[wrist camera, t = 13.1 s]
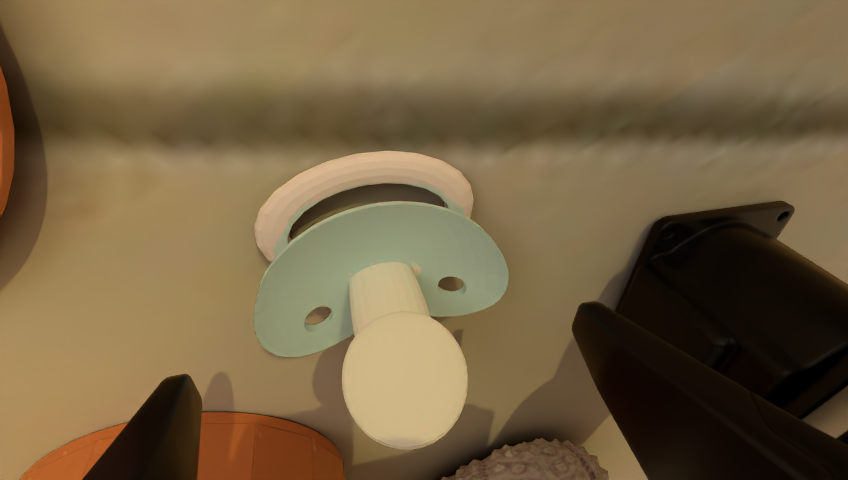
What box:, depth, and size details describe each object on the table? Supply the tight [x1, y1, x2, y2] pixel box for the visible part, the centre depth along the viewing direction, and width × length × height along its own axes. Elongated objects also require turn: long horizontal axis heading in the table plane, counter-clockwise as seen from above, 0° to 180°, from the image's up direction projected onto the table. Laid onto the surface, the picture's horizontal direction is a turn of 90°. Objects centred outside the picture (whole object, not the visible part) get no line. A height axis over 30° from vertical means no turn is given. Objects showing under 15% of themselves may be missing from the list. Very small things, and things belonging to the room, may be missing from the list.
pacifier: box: [254, 151, 509, 450], centre depth 10 cm, size 7×6×6 cm
